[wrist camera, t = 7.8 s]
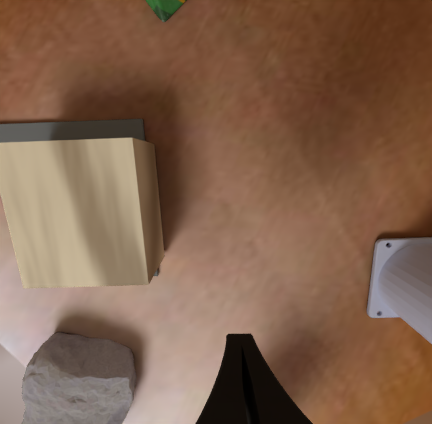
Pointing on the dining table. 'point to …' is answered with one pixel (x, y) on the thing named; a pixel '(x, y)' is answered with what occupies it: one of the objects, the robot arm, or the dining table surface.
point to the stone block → (78, 381)
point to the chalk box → (164, 7)
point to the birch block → (82, 211)
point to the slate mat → (73, 131)
